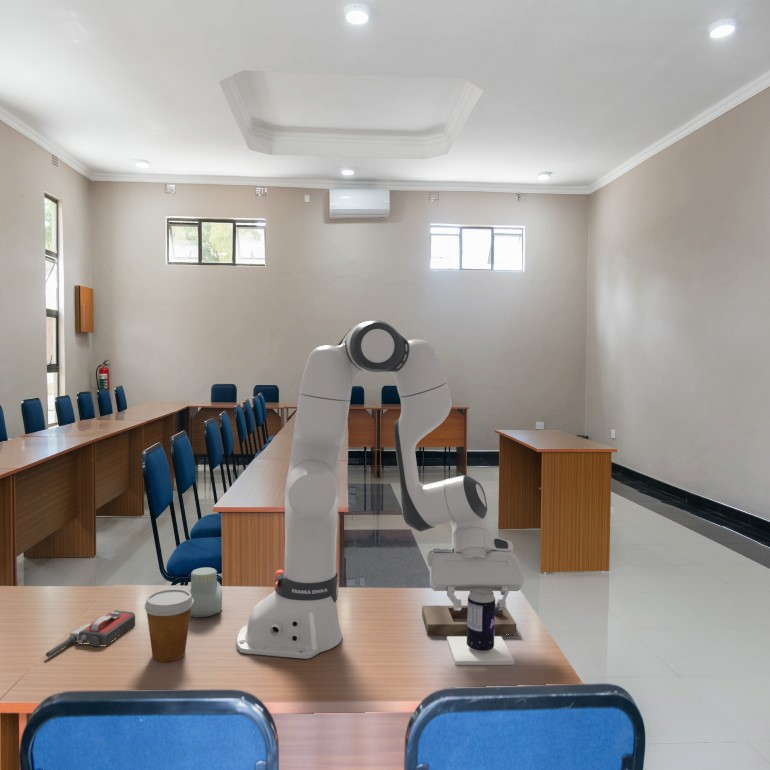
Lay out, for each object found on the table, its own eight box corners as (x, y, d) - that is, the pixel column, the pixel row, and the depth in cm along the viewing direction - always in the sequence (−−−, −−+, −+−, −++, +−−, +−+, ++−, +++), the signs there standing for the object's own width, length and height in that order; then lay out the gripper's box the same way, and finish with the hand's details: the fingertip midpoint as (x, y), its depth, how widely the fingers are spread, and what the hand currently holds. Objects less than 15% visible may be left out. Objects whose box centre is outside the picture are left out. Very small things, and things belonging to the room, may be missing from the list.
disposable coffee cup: (189, 664, 121) (190, 604, 121) (138, 667, 120) (139, 607, 119) (196, 642, 131) (196, 587, 130) (149, 645, 129) (149, 588, 129)
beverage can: (493, 656, 126) (495, 598, 125) (466, 653, 127) (467, 596, 126) (493, 643, 131) (495, 588, 131) (467, 641, 132) (468, 586, 132)
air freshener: (220, 620, 142) (221, 578, 142) (183, 623, 140) (183, 580, 140) (222, 602, 153) (222, 562, 152) (187, 604, 151) (187, 564, 150)
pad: (455, 665, 123) (455, 661, 123) (446, 640, 134) (446, 636, 134) (514, 664, 124) (514, 660, 124) (500, 639, 135) (501, 636, 135)
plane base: (427, 635, 136) (427, 615, 136) (422, 615, 147) (422, 597, 147) (516, 635, 138) (516, 615, 137) (504, 615, 148) (505, 597, 148)
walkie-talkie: (106, 620, 142) (42, 661, 122) (106, 601, 142) (41, 639, 122) (140, 623, 140) (81, 666, 121) (140, 604, 140) (81, 644, 120)
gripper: (427, 541, 136) (432, 603, 126) (519, 542, 137) (530, 603, 127) (425, 555, 140) (429, 615, 131) (513, 555, 141) (524, 615, 132)
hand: (480, 609), depth 129 cm, fingers open, 8 cm apart
